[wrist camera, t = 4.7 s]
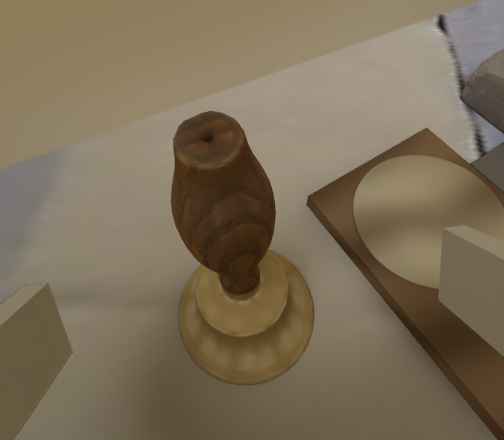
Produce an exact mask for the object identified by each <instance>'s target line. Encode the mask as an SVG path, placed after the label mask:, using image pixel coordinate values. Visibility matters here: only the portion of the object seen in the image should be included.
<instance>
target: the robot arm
mask: <svg viewBox="0 0 504 440" xmlns="http://www.w3.org/2000/svg"><path fill="white" fill-rule="evenodd" d="M438 300H439V301H440V302H442V303H443V304H444V305H445V306H446V307H447V308H448V309H450V310H451V311H452V312H453V313H454V314H455V315H456V316H458V317H459V318H460V319H461V320H462V321H463V322H465V323H466V324H467V325H468V326H469V327H470V328H471V329H473V330H474V331H475V332H476V333H477V334H478V335H479V336H481V337H482V338H483V339H484V340H485V341H486V342H487V343H489V344H490V345H491V346H492V347H493V348H494V349H495V350H497V351H498V352H499V353H500V354H501V355H502V356H504V242H501V241H499V240H497V239H495V238H493V237H490V236H488V235H486V234H484V233H482V232H480V231H477V230H475V229H473V228H471V227H469V226H466V225H462V226H454V227H447V228H443V235H442V250H441V265H440V280H439V295H438ZM72 353H73V351H72V349H71V346H70V343H69V340H68V337H67V334H66V332H65V329H64V326H63V323H62V320H61V318H60V315H59V312H58V309H57V306H56V303H55V301H54V298H53V295H52V292H51V289H50V286H49V284H48V283H41V284H34V285H27V286H23V287H22V288H21V289H20V290H19V291H17V292H16V293H15V294H14V295H12V296H11V297H10V298H9V299H8V300H6V301H5V302H4V303H3V304H1V305H0V440H14V439H15V438H16V436H17V435H18V433H19V432H20V430H21V429H22V427H23V426H24V424H25V423H26V421H27V420H28V418H29V417H30V415H31V414H32V412H33V411H34V409H35V408H36V406H37V405H38V403H39V402H40V400H41V399H42V397H43V396H44V394H45V393H46V391H47V390H48V388H49V387H50V385H51V384H52V383H53V381H54V380H55V378H56V377H57V375H58V374H59V372H60V371H61V369H62V368H63V366H64V365H65V363H66V362H67V360H68V359H69V357H70V356H71V354H72Z"/></svg>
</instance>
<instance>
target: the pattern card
mask: <svg viewBox="0 0 504 440" xmlns="http://www.w3.org/2000/svg"><path fill="white" fill-rule="evenodd" d="M470 165H471V166H473V167H474V168H475V169H476V170H477V171H478V172H480V173H481V174H482V175H483V176H484V177H485V178H487V179H488V180H489V181H490V182H491V183H492V184H494V185H495V186H496V187H497V188H498V189H500V190H501V191H502V192H503V193H504V143H503V144H501V145H500V146H498V147H497V148H495V149H493V150H492V151H490V152H489V153H487V154H486V155H484V156H482V157H481V158H479V159H478V160H476V161H475V162H473V163H471V164H470Z"/></svg>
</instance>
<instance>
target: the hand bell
mask: <svg viewBox="0 0 504 440" xmlns="http://www.w3.org/2000/svg"><path fill="white" fill-rule="evenodd" d="M173 149H174V156H175V169H174V176H173V183H172V192H171V206H172V214H173V218H174V222H175V225H176V227H177V230H178V232H179V234H180V236H181V238H182V240H183V242H184V243H185V245H186V247H187V249H188V250H189V251H190V252H191V253H192V255H193V256H194V257H195V258H196V259H197V260H198V261H199V262H200V263H201V265H200V266H199V267H198V268H197V269H196V270H195V272H194V273H193V274H192V276H191V277H190V279H189V280H188V282H187V284H186V286H185V288H184V290H183V293H182V296H181V300H180V304H179V317H178V319H179V328H180V333H181V337H182V340H183V343H184V345H185V347H186V349H187V351H188V353H189V354H190V356H191V357H192V359H193V360H194V361H195V362H196V363H197V364H198V365H199V366H200V367H201V368H202V369H203V370H204V371H205V372H207V373H208V374H210V375H211V376H213V377H215V378H217V379H219V380H221V381H224V382H228V383H232V384H238V385H253V384H260V383H263V382H267V381H270V380H272V379H274V378H276V377H278V376H280V375H281V374H283V373H284V372H285V371H287V370H288V369H289V368H290V367H292V366H293V365H294V364H295V363H296V361H297V360H298V359H299V358H300V356H301V355H302V353H303V352H304V351H305V349H306V347H307V345H308V342H309V339H310V337H311V333H312V329H313V323H314V306H313V300H312V296H311V293H310V290H309V287H308V285H307V283H306V281H305V279H304V278H303V276H302V275H301V273H300V272H299V271H298V270H297V268H296V267H295V266H294V265H293V264H292V263H290V262H289V261H288V260H287V259H285V258H284V257H282V256H281V255H279V254H277V253H275V252H273V251H270V250H268V248H269V245H270V243H271V240H272V237H273V233H274V225H275V215H276V212H275V200H274V195H273V191H272V187H271V184H270V181H269V179H268V177H267V175H266V173H265V171H264V169H263V168H262V166H261V165H260V163H259V162H258V160H257V159H256V157H255V156H254V154H253V153H252V151H251V149H250V147H249V145H248V142H247V139H246V136H245V133H244V131H243V129H242V128H241V126H240V125H239V123H238V122H237V121H236V120H235V119H234V118H232V117H230V116H228V115H226V114H223V113H221V112H214V111H208V112H204V113H201V114H199V115H197V116H194V117H192V118H190V119H188V120H185V121H184V122H183V123H182V124H181V125H180V126H179V127H178V130H177V132H176V134H175V137H174V139H173Z"/></svg>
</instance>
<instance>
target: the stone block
mask: <svg viewBox="0 0 504 440" xmlns="http://www.w3.org/2000/svg"><path fill="white" fill-rule="evenodd" d="M460 98H461V100H462V101H463V102H464V103H465V104H466V105H467V106H468V107H470V108H471V109H472V110H474V111H475V112H476V113H477V114H479V115H480V116H481V117H483V118H484V119H485V120H487V121H488V122H489V123H491V124H492V125H493V126H494V127H496V128H497V129H498V130H500V131H501V132H502V133H504V49H503V50H501V51H499V52H497V53H495V54H493V55H492V56H491V57H489V58H488V59H486V60H485V61H484V62H482V63H481V65H480V66H479V67H478V69H477V70H476V71H475V72H474V73H473V74H472V76H471V77H470V78H469V80H468V82H467V84H466V86H465V87H464V89H463V91H462V93H461V97H460Z"/></svg>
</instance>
